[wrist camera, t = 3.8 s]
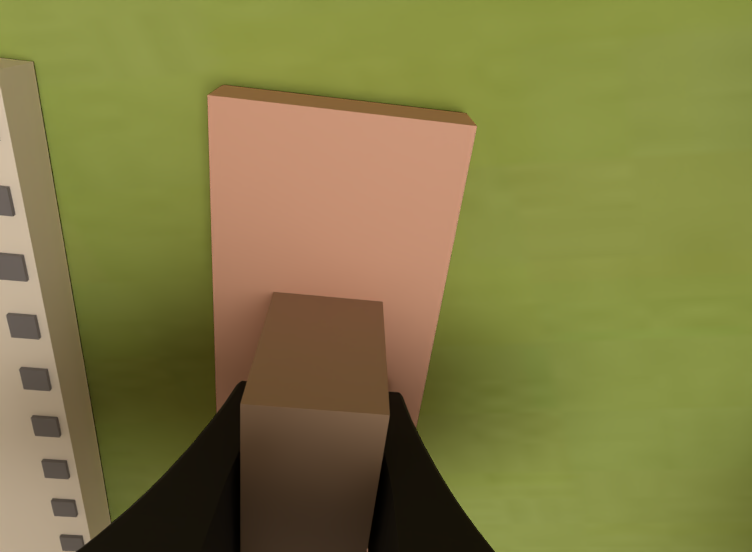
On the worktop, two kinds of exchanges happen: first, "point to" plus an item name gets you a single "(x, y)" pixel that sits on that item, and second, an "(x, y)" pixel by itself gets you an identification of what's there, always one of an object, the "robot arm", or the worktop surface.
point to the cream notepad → (40, 348)
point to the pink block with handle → (325, 295)
